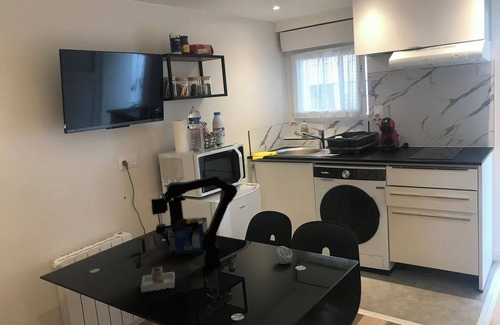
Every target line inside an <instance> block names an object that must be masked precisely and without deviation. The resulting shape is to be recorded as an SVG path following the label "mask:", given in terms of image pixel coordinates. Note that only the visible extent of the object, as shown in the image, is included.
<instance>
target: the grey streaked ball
mask: <svg viewBox="0 0 500 325" xmlns="http://www.w3.org/2000/svg"><path fill="white" fill-rule="evenodd" d="M293 255H294V254H293V252H292V250H291V249H290V248H288V247H286V246H282V245H280V246H279V247H277V248H276V249H275V252H274V257H275V259H276V261H277V262H278V264H282V265H286V264H290V263H291V261H292V260H293Z"/></svg>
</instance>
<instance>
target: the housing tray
mask: <svg viewBox="0 0 500 325" xmlns="http://www.w3.org/2000/svg"><path fill="white" fill-rule="evenodd" d="M163 277H164V283H158V284H153V280H152V274H148V275H143V276H142V280H141V284H140V290H141V292H140V293H146V292H147V291H148V292H153V291H154V290H155V291H161V289H162V290H167V289H166V288H169V289H175V285H176V284H175V282H176V280H175V279H176V275H175V271H171V272H163ZM148 292H147V293H148Z"/></svg>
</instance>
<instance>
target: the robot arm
mask: <svg viewBox="0 0 500 325" xmlns="http://www.w3.org/2000/svg"><path fill="white" fill-rule="evenodd" d="M211 186H215V187H217V188H218V189H219V190H220V195H219V202H218V203H217V206H216V209H215V211H214V213H213V216H212V218H211V220H210V223H209V225H208V227H207V228H208V229H207V230H206V231H205V232H204V231H202V234H201V236H200V238H199V239H200V245H201V247H202V248H203V250H204V251H205V253H204V265H205V266H206V268H207V269H209V268H217V267H220V266H222V263H221V257H220V250H221V248H220V247H219V246H218V244H217V242H216V241H217V234H218V233H217V232H218V231H219V228H220V226H221V223H222V221H223V218H224V216H225V213H226V211H227V209H228V206H229V204H231V202H233V200H234V199H235V197H236V195H237V193H238V188H237V187H236V186H235V185H234V184H232V183H231V182H225V181H224V180H222V179H220V178H219V176H217V175H210V176H206V177H202V178H199V179H198V178H197V179H193V180H189V181H173V182H170V183H168V184H167V186H166V191H165V193H164V194H163V196H162V197H161V198H151V212H152V213H151V214H152V215H153V216H154V215H160V214H166V213H167V212H168V211H169V218H170V222H169V224H170V225H166V223H159V224H156V226H155V233H156V235H158V234H159V236H162V237H163V238H164V240H165V241H166V244H167V245H168V248H170V247H171V242H170V237H169V233H168V231H170V230H171V232H172V233H174V232H178V231H180V232H181V231H183V228H186V227H190V238H189V241H190V244H191V240H192V236H193V233H194V231H196V230H197V229H198V228H199V221H198V220H190V223H187V218H184V211H183V204H182V203H183V202H184V201H186V200H187V198H186V197H185V196H183V195H184V194H186V193H188V192H190V191H194V190H195V191H196V190H198V189H203V188H207V187H211ZM182 201H183V202H182Z"/></svg>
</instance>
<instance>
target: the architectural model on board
mask: <svg viewBox="0 0 500 325" xmlns="http://www.w3.org/2000/svg"><path fill="white" fill-rule="evenodd" d="M158 247H159V246H158V237H157V234H156V232H151V233H149V234H148V235H145V234H143V235H142V236H140V237H138V238H137V248H138V254H143V255H144V252H145V253H146V252H147V253H148V252H149V251H151V250H153V249H155V248H158Z"/></svg>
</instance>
